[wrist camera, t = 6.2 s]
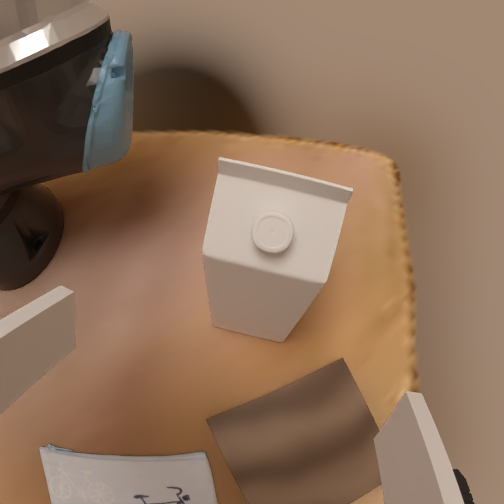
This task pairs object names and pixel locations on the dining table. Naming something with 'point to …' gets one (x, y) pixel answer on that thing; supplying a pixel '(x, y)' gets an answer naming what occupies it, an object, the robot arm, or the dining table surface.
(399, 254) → the dining table surface
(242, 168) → the milk carton
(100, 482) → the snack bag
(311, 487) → the walnut board
